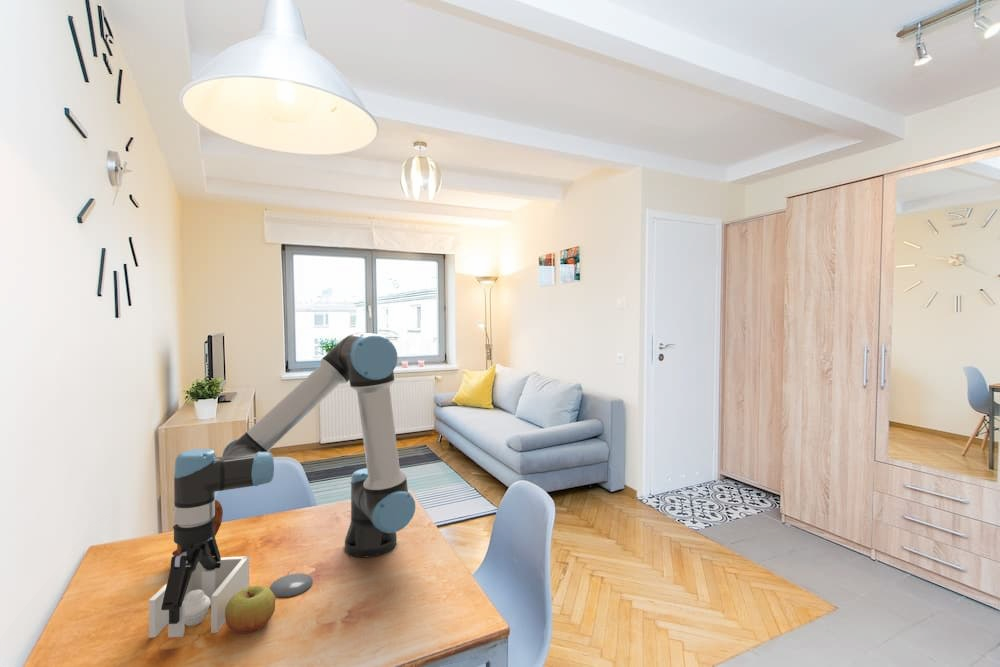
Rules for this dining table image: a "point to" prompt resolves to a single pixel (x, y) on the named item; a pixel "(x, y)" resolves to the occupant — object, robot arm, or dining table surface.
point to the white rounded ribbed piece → (196, 607)
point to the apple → (250, 609)
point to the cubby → (227, 584)
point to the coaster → (291, 585)
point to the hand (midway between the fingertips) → (193, 615)
